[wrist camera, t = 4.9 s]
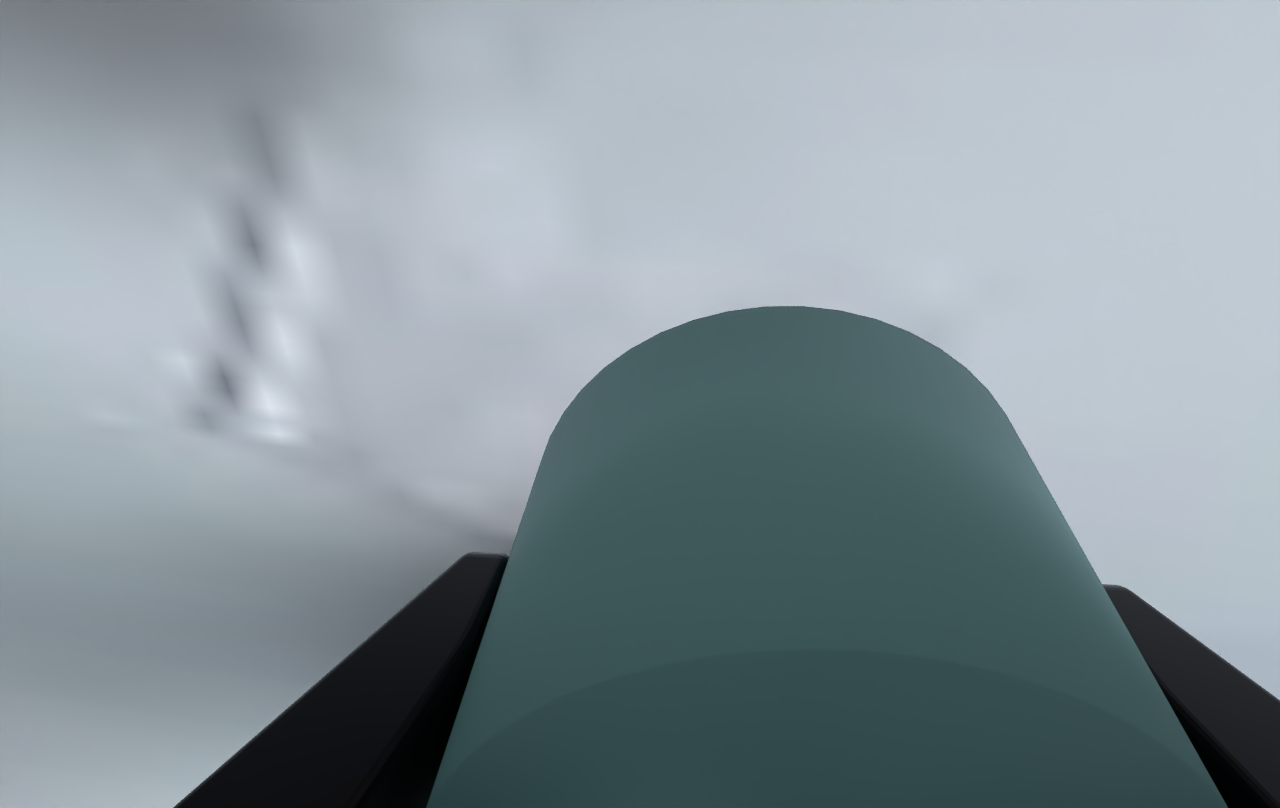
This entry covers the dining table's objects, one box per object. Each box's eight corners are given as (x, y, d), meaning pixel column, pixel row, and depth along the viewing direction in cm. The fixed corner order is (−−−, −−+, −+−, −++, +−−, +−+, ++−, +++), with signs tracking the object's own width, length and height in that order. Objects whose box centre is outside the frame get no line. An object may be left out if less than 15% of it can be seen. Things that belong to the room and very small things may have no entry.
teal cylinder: (782, 751, 10) (812, 1166, 7) (445, 538, 9) (276, 919, 6) (1138, 517, 8) (1438, 954, 5) (761, 190, 7) (799, 469, 3)
